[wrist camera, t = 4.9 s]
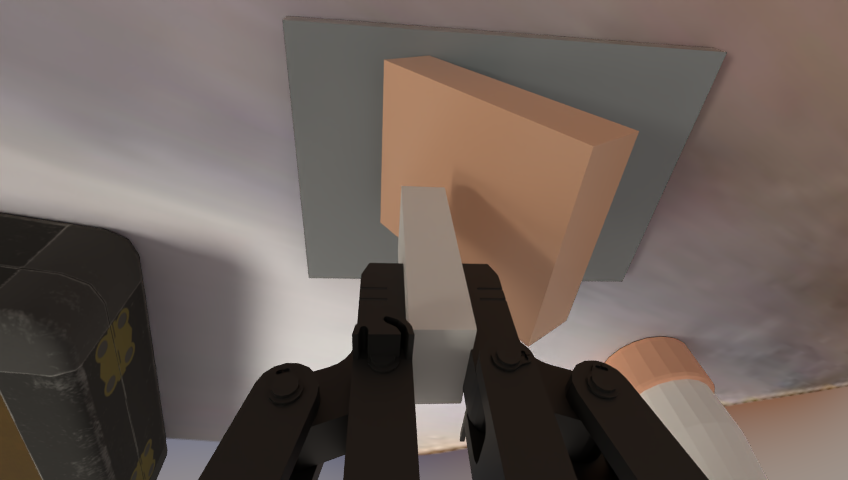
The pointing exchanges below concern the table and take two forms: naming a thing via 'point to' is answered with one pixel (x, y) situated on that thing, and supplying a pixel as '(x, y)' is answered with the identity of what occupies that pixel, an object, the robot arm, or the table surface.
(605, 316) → the table surface
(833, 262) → the table surface
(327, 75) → the slate board
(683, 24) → the table surface
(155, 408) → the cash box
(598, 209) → the tile
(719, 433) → the salt shaker
